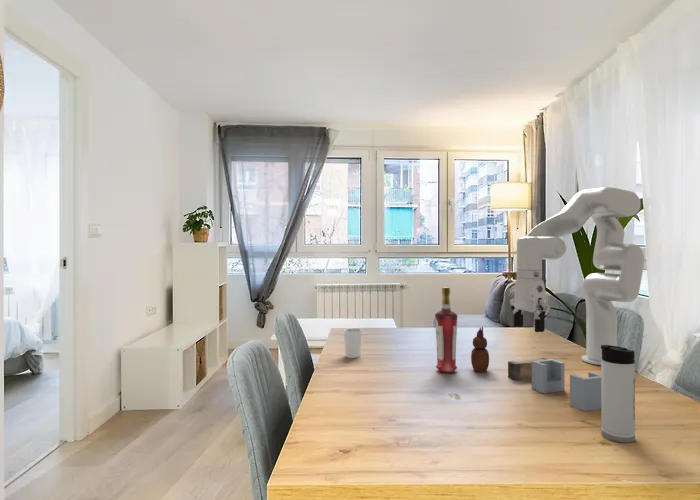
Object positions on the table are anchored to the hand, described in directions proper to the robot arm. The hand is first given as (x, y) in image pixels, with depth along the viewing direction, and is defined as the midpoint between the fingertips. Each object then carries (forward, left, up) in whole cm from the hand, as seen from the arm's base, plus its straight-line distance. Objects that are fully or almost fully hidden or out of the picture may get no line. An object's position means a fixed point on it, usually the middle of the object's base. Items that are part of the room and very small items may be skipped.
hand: (528, 329), depth 142 cm
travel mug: (+13, +43, -15) cm, 47 cm away
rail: (0, 0, -15) cm, 15 cm away
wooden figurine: (+11, -11, -15) cm, 22 cm away
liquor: (+22, -14, -15) cm, 30 cm away
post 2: (+4, +27, -15) cm, 31 cm away
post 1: (+4, +12, -15) cm, 20 cm away
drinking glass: (+45, -44, -15) cm, 64 cm away
